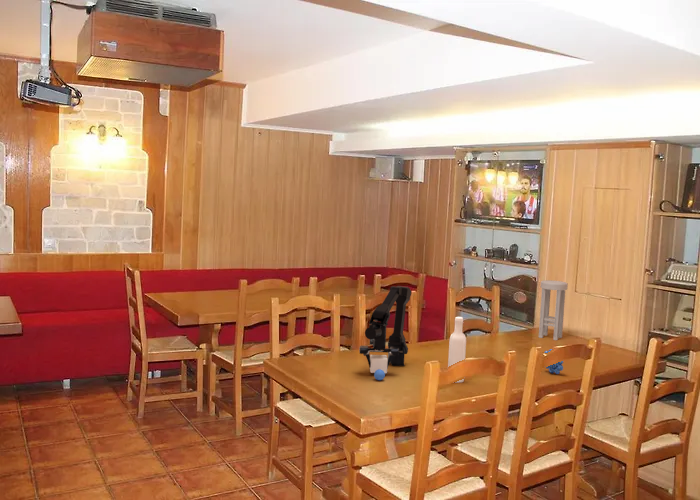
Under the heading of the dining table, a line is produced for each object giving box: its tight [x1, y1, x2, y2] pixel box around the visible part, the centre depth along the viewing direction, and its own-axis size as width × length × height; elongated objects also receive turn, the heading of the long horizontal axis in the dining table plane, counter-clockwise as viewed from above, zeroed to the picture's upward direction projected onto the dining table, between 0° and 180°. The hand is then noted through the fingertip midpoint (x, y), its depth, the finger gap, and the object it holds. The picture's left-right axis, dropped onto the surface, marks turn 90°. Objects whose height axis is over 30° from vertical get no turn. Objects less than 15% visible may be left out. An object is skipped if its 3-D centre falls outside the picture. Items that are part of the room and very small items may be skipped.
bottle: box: [447, 316, 467, 384], centre depth 312 cm, size 8×8×30 cm
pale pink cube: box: [369, 354, 388, 374], centre depth 318 cm, size 8×8×7 cm
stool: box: [538, 279, 569, 341], centre depth 416 cm, size 16×16×35 cm
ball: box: [373, 369, 386, 381], centre depth 308 cm, size 5×5×5 cm
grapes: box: [543, 348, 564, 375], centre depth 332 cm, size 12×7×12 cm, turn 42°
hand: (378, 368), depth 318 cm, fingers closed on pale pink cube, 8 cm apart
